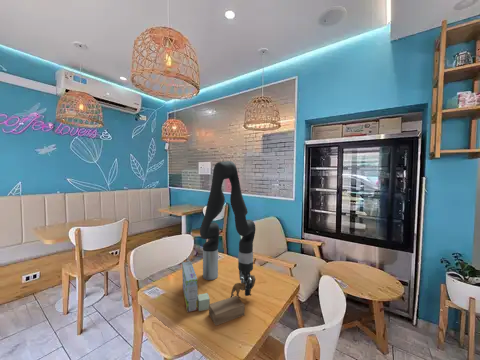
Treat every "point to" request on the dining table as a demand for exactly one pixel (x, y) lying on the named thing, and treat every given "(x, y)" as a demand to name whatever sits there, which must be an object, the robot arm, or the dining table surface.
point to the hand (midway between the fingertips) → (245, 292)
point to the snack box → (190, 286)
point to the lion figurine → (241, 287)
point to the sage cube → (203, 302)
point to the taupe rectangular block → (226, 310)
